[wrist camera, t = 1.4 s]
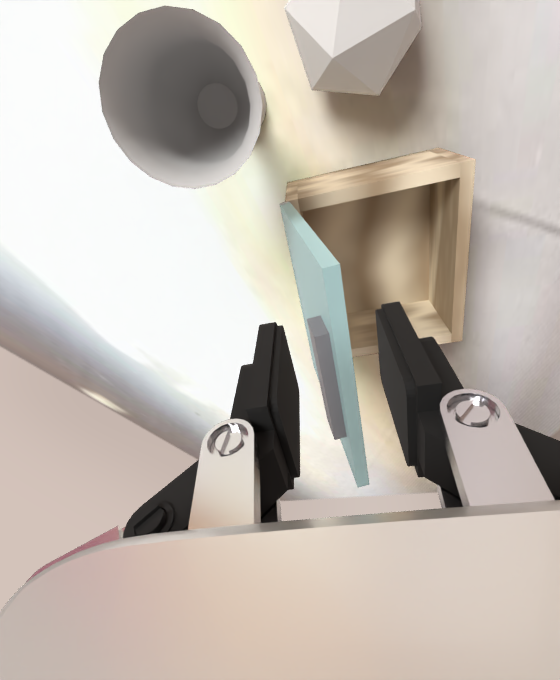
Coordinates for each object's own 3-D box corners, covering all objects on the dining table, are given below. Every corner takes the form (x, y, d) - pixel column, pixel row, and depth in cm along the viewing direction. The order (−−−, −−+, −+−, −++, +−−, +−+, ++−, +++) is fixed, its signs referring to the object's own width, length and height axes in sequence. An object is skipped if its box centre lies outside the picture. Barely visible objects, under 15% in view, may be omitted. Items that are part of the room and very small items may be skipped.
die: (430, 17, 28) (453, -157, 18) (396, 131, 28) (401, 21, 19) (326, 15, 30) (298, -139, 21) (297, 120, 31) (257, 18, 21)
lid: (339, 263, 15) (304, 273, 15) (369, 484, 24) (346, 490, 24) (289, 200, 27) (269, 206, 27) (320, 362, 36) (305, 366, 36)
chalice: (277, 53, 29) (256, -1, 14) (280, 147, 33) (267, 186, 18) (188, 58, 29) (75, 11, 14) (202, 151, 33) (123, 191, 18)
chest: (438, 147, 32) (475, 159, 25) (434, 301, 41) (461, 340, 34) (287, 182, 34) (285, 201, 28) (314, 322, 43) (317, 362, 36)
